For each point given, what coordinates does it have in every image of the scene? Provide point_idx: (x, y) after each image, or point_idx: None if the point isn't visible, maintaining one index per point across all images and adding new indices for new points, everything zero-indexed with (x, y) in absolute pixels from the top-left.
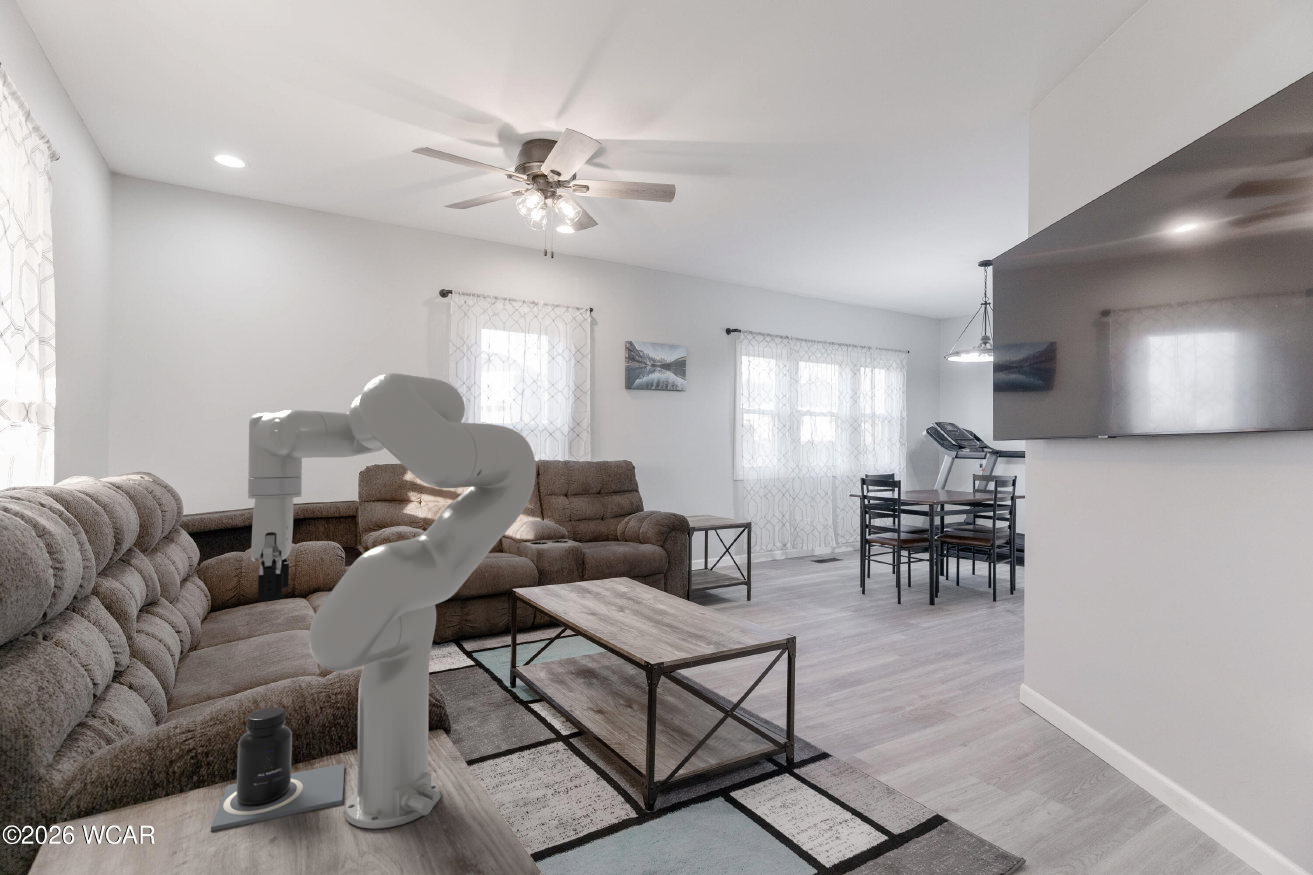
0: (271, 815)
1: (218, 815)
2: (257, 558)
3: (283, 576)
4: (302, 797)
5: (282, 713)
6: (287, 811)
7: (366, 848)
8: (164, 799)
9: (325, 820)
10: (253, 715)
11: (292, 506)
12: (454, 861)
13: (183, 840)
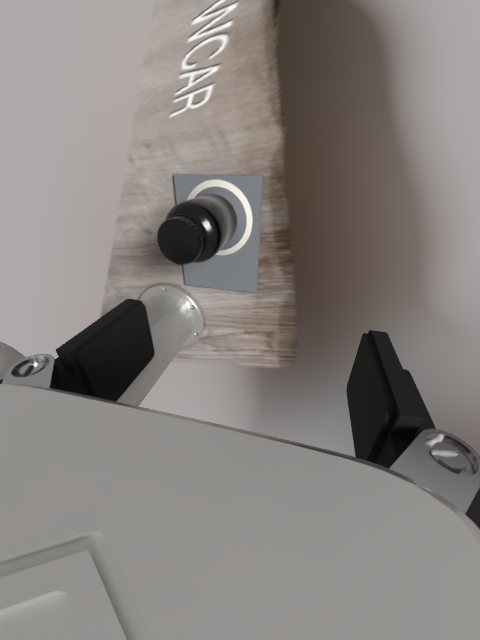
0: None
1: (193, 178)
2: (175, 415)
3: (356, 413)
4: None
5: (173, 262)
6: None
7: (122, 291)
8: (271, 93)
9: (165, 269)
10: (173, 226)
11: None
12: None
13: (167, 149)
